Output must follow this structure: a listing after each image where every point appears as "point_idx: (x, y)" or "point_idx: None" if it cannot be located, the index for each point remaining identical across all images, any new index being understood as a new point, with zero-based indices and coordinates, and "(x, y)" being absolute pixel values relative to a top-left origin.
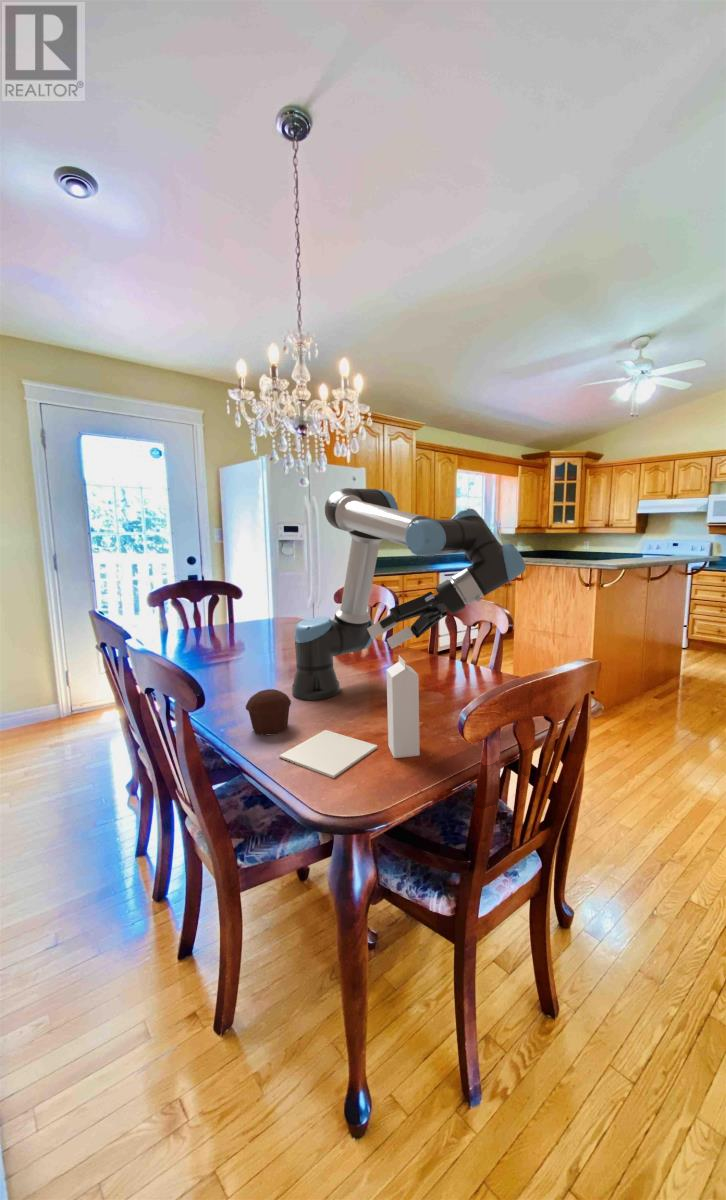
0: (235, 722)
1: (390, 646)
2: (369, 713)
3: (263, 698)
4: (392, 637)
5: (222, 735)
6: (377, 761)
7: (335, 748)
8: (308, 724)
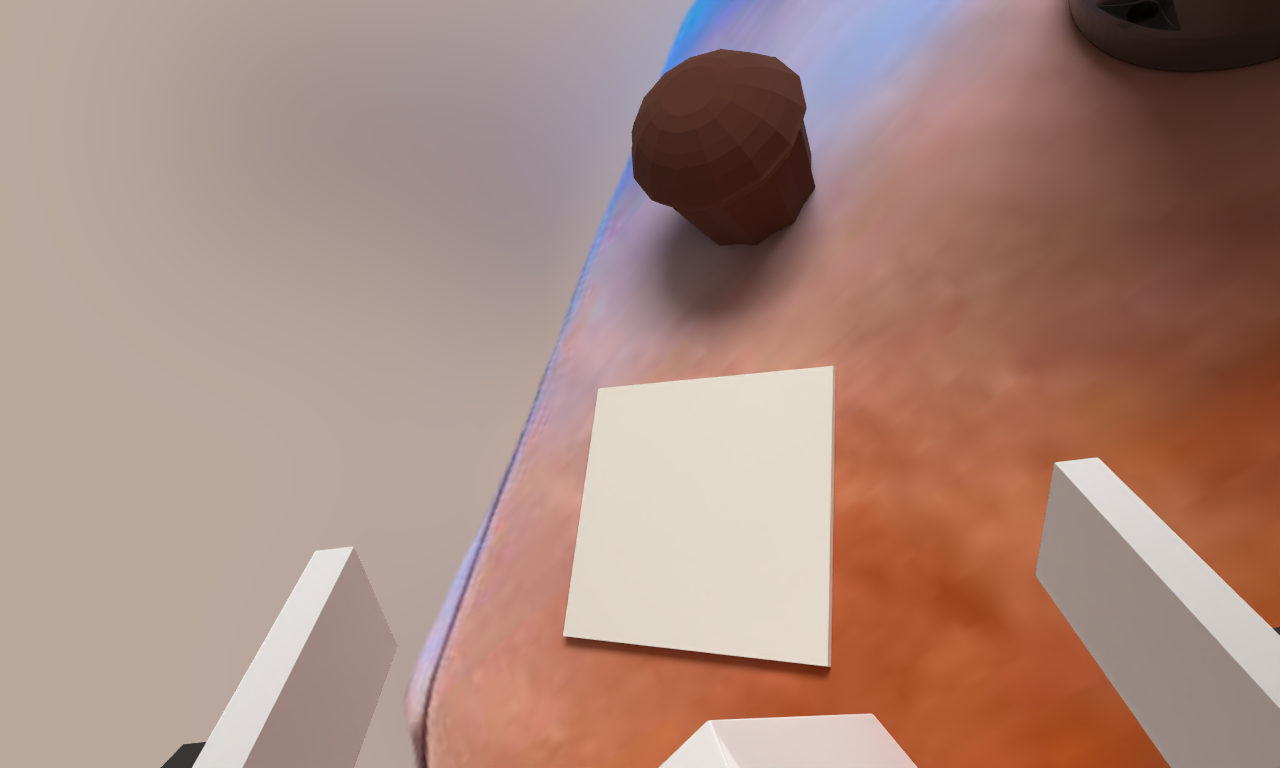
0: None
1: (1041, 556)
2: (1185, 389)
3: (648, 131)
4: (1102, 539)
5: None
6: None
7: (716, 516)
8: (857, 262)
